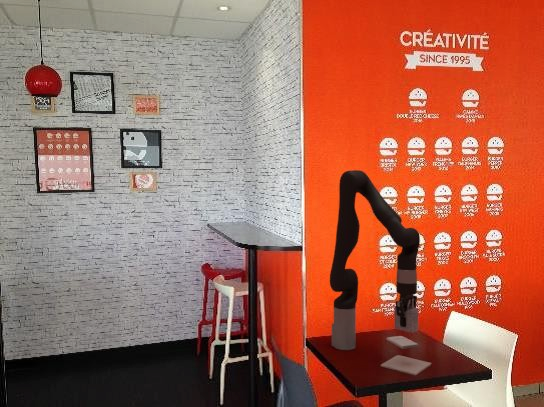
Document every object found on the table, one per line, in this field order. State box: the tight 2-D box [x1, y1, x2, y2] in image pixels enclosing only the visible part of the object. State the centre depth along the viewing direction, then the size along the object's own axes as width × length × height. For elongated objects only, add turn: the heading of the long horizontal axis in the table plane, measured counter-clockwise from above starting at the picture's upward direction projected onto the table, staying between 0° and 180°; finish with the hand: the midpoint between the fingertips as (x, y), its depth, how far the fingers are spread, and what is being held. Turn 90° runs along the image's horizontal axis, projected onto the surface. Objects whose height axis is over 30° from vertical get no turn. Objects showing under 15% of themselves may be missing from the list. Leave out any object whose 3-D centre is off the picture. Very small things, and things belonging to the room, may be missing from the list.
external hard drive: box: [385, 335, 420, 350], centre depth 216 cm, size 2×8×12 cm
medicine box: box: [394, 306, 419, 334], centre depth 190 cm, size 8×4×9 cm, turn 41°
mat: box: [380, 354, 432, 376], centre depth 190 cm, size 14×14×1 cm
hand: (406, 324), depth 190 cm, fingers closed on medicine box, 4 cm apart
